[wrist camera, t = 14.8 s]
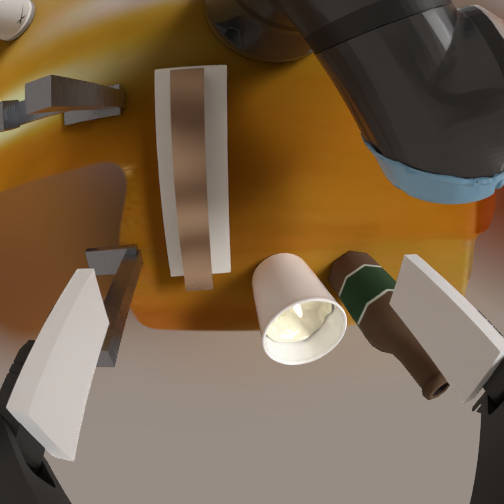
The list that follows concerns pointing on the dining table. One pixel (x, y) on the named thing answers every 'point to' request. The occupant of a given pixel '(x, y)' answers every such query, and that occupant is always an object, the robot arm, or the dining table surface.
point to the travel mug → (15, 18)
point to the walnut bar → (191, 175)
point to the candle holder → (295, 311)
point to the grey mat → (214, 166)
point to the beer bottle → (383, 317)
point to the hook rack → (75, 110)
